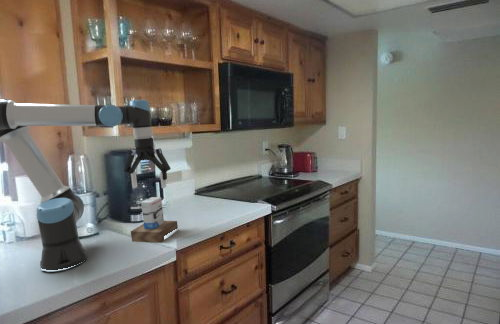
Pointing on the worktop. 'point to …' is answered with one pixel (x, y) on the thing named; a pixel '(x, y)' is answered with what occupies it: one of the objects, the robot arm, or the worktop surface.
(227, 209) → the worktop surface
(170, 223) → the walnut block
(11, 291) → the worktop surface
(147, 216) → the ink box
